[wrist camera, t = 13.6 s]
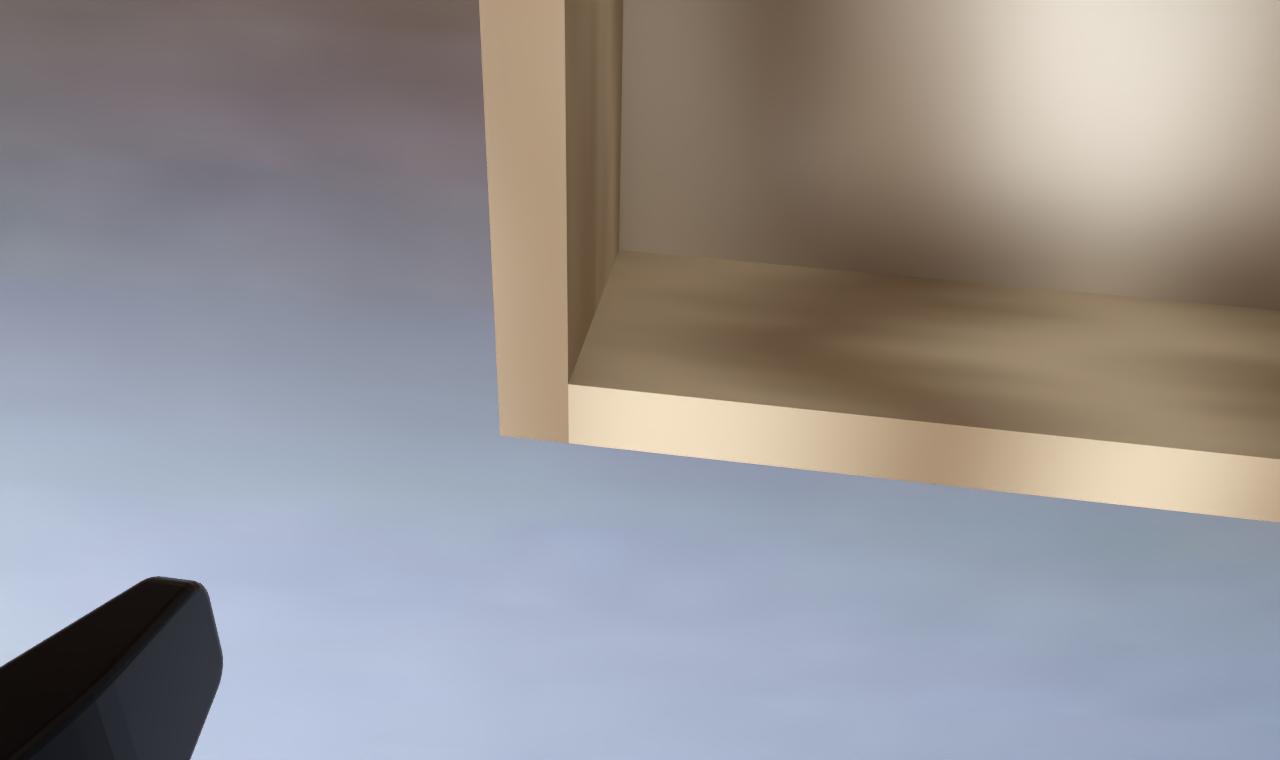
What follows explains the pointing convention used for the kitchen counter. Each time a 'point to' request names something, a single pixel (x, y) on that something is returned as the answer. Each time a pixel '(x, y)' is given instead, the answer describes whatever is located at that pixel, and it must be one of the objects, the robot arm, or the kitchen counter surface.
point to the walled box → (896, 239)
